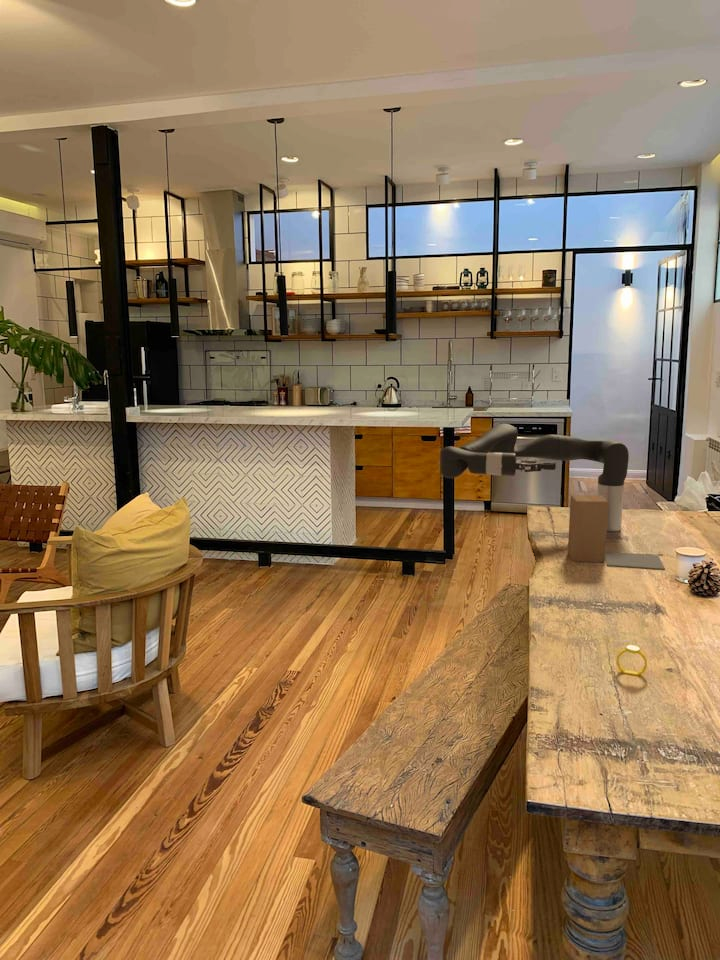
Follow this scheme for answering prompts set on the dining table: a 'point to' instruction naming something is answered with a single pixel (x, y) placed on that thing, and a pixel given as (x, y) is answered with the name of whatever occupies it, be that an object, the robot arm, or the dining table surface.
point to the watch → (632, 650)
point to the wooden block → (587, 528)
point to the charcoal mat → (633, 560)
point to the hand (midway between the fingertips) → (555, 466)
